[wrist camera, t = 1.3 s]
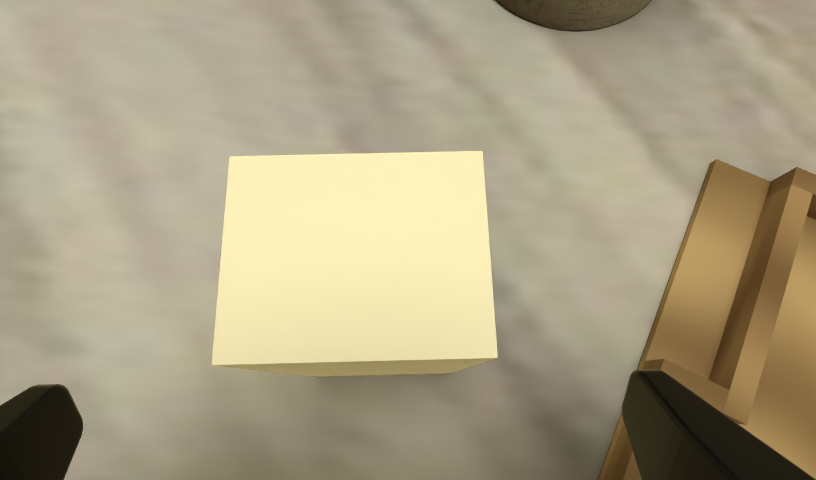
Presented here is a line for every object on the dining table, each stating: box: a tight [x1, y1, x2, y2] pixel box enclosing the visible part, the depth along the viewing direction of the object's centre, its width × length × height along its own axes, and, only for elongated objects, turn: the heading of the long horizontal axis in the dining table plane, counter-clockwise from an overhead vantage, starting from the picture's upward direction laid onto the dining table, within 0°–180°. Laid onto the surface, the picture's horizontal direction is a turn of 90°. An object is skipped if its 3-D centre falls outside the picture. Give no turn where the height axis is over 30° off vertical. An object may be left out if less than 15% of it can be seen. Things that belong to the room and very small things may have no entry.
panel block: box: [212, 151, 498, 377], centre depth 14 cm, size 4×5×10 cm
